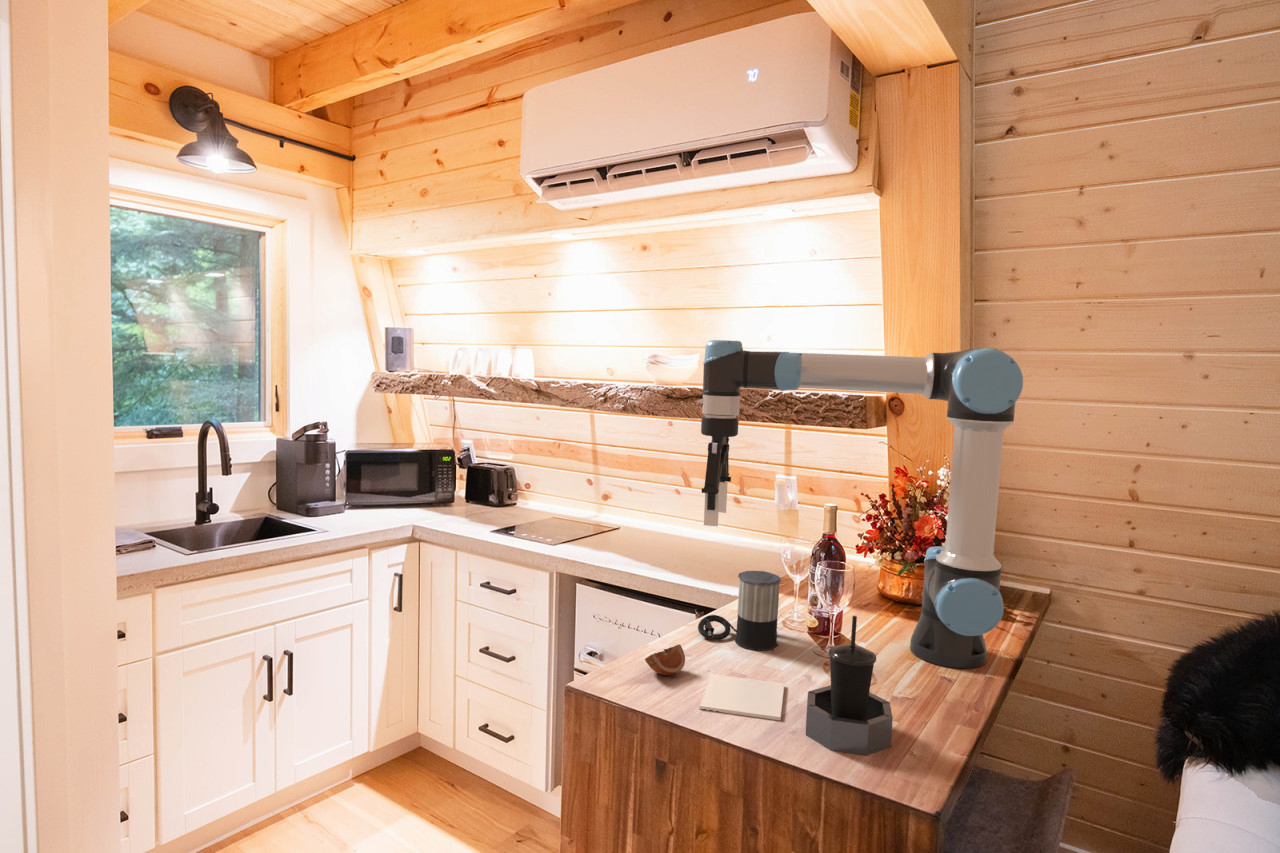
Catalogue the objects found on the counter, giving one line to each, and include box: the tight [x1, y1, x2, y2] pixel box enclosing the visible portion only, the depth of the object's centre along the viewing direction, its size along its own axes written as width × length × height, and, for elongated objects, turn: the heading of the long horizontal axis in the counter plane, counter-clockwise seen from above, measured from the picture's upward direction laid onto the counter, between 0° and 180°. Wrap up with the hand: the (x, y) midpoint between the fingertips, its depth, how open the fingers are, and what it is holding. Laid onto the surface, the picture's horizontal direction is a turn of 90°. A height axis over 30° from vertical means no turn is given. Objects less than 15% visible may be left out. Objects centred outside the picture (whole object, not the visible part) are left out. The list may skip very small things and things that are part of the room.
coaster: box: [699, 673, 785, 721], centre depth 141 cm, size 14×14×1 cm
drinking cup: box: [828, 615, 877, 721], centre depth 128 cm, size 8×8×20 cm
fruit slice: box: [644, 644, 686, 676], centre depth 150 cm, size 8×7×5 cm
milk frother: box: [697, 570, 782, 651], centre depth 168 cm, size 14×16×15 cm
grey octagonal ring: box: [805, 684, 894, 756], centre depth 129 cm, size 13×13×5 cm
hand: (715, 518), depth 160 cm, fingers open, 13 cm apart
